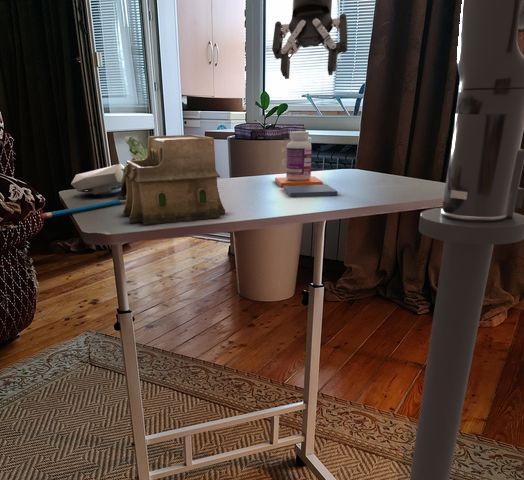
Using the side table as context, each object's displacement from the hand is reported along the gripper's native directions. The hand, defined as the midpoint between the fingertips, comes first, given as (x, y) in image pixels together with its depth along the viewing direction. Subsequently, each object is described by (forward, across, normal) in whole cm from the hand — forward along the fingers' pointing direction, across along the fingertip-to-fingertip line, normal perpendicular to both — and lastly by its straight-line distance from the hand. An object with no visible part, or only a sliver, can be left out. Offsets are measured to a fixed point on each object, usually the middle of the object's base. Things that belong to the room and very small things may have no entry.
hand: (307, 74), depth 96 cm
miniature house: (+32, -17, -19) cm, 41 cm away
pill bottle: (+15, -4, +14) cm, 21 cm away
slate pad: (+22, +1, +3) cm, 22 cm away
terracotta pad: (+16, -4, +14) cm, 21 cm away
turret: (+23, -39, -2) cm, 45 cm away
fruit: (+26, -29, -8) cm, 40 cm away
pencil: (+31, -33, -19) cm, 49 cm away
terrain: (+22, -27, -11) cm, 36 cm away
